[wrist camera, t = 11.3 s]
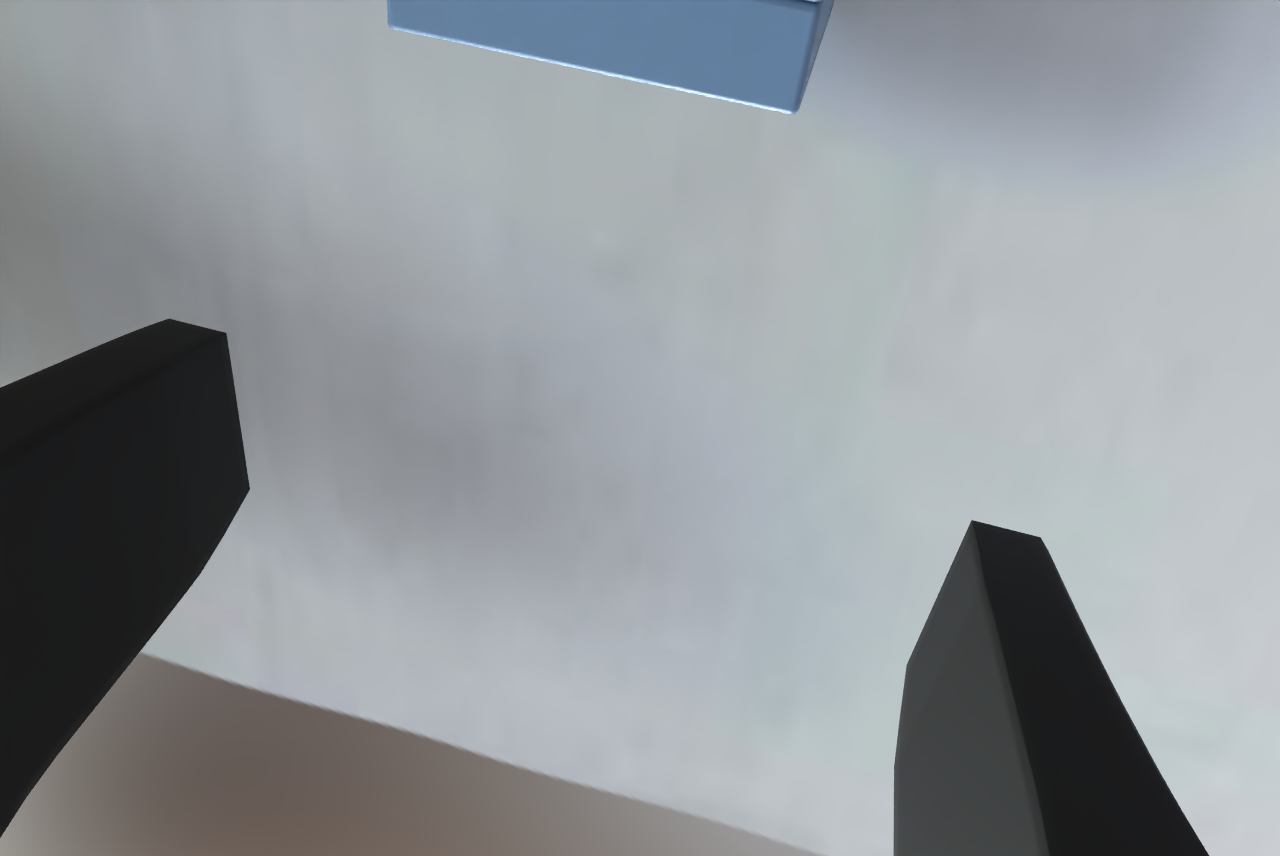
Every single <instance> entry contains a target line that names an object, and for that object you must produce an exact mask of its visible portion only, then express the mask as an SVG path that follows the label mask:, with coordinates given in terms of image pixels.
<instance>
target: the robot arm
mask: <svg viewBox="0 0 1280 856" xmlns="http://www.w3.org/2000/svg"><path fill="white" fill-rule="evenodd" d="M249 490H250V487H249V481H248V474H247V467H246V461H245V454H244V447H243V441H242V434H241V427H240V421H239V414H238V407H237V401H236V394H235V387H234V381H233V374H232V367H231V361H230V354H229V348H228V341H227V334H226V333H224V332H220V331H216V330H212V329H208V328H204V327H200V326H196V325H192V324H188V323H184V322H180V321H176V320H172V319H167V320H164V321H161V322H158V323H155V324H152V325H150V326H147V327H144V328H141V329H139V330H136V331H134V332H131V333H129V334H126V335H124V336H121V337H119V338H116V339H114V340H111V341H109V342H107V343H104V344H102V345H99V346H97V347H95V348H92V349H90V350H88V351H85V352H83V353H81V354H78V355H76V356H74V357H71V358H69V359H67V360H64V361H62V362H60V363H57V364H55V365H53V366H50V367H48V368H46V369H43V370H41V371H39V372H36V373H34V374H32V375H29V376H27V377H25V378H22V379H20V380H18V381H15V382H13V383H11V384H8V385H6V386H4V387H1V388H0V837H1V836H2V834H3V833H4V831H5V830H6V828H7V827H8V825H9V823H10V822H11V820H12V819H13V817H14V816H15V814H16V812H17V811H18V809H19V808H20V806H21V805H22V803H23V802H24V800H25V799H26V797H27V796H28V794H29V793H30V792H31V790H32V789H33V788H34V786H35V785H36V783H37V782H38V781H39V779H40V778H41V776H42V775H43V774H44V772H45V771H46V770H47V768H48V767H49V766H50V764H51V763H52V762H53V760H54V759H55V758H56V756H57V755H58V753H59V752H60V751H61V750H62V749H63V747H64V746H65V745H66V744H67V742H68V741H69V740H70V738H71V737H72V736H73V735H74V733H75V732H76V731H77V730H78V728H79V727H80V726H81V725H82V723H83V722H84V721H85V720H86V718H87V717H88V716H89V715H90V713H91V712H92V711H93V710H94V708H95V707H96V706H97V705H98V703H99V702H100V701H101V700H102V698H103V697H104V696H105V694H106V693H107V692H108V691H109V689H110V688H111V687H112V686H113V684H114V683H115V682H116V681H117V679H118V678H119V677H120V676H121V674H122V673H123V672H124V671H125V669H126V668H127V667H128V665H129V664H130V663H131V662H132V661H133V659H134V658H135V657H136V656H137V654H138V653H139V652H140V651H141V649H142V648H143V647H144V646H145V644H146V643H147V642H148V641H149V639H150V638H151V637H152V635H153V634H154V633H155V632H156V630H157V629H158V628H159V627H160V625H161V624H162V623H163V621H164V620H165V619H166V618H167V616H168V615H169V614H170V612H171V611H172V610H173V609H174V607H175V606H176V605H177V603H178V602H179V601H180V600H181V598H182V597H183V596H184V594H185V593H186V592H187V591H188V589H189V588H190V587H191V585H192V584H193V583H194V581H195V580H196V579H197V577H198V576H199V575H200V573H201V572H202V570H203V569H204V567H205V565H206V564H207V562H208V560H209V559H210V557H211V556H212V554H213V552H214V551H215V549H216V547H217V546H218V544H219V542H220V541H221V539H222V538H223V536H224V534H225V532H226V531H227V529H228V527H229V525H230V524H231V522H232V520H233V518H234V516H235V515H236V513H237V511H238V509H239V508H240V506H241V504H242V502H243V500H244V499H245V497H246V495H247V493H248V492H249ZM894 856H1209V855H1208V853H1207V851H1206V850H1205V848H1204V846H1203V845H1202V843H1201V841H1200V840H1199V838H1198V837H1197V835H1196V833H1195V832H1194V830H1193V828H1192V827H1191V825H1190V823H1189V822H1188V820H1187V818H1186V817H1185V815H1184V813H1183V812H1182V810H1181V808H1180V807H1179V805H1178V803H1177V801H1176V800H1175V798H1174V796H1173V794H1172V793H1171V791H1170V789H1169V787H1168V786H1167V784H1166V782H1165V780H1164V779H1163V777H1162V775H1161V773H1160V772H1159V770H1158V768H1157V766H1156V764H1155V762H1154V761H1153V759H1152V757H1151V755H1150V753H1149V751H1148V749H1147V748H1146V746H1145V744H1144V742H1143V740H1142V738H1141V736H1140V735H1139V733H1138V731H1137V729H1136V727H1135V725H1134V724H1133V722H1132V720H1131V718H1130V716H1129V714H1128V712H1127V711H1126V709H1125V707H1124V705H1123V703H1122V701H1121V699H1120V697H1119V695H1118V694H1117V692H1116V690H1115V688H1114V686H1113V684H1112V682H1111V680H1110V678H1109V676H1108V674H1107V672H1106V670H1105V668H1104V666H1103V664H1102V662H1101V660H1100V658H1099V656H1098V654H1097V652H1096V650H1095V648H1094V646H1093V644H1092V642H1091V640H1090V638H1089V636H1088V634H1087V632H1086V630H1085V627H1084V625H1083V623H1082V621H1081V619H1080V617H1079V615H1078V613H1077V611H1076V609H1075V607H1074V604H1073V602H1072V600H1071V598H1070V596H1069V594H1068V592H1067V590H1066V587H1065V585H1064V583H1063V581H1062V579H1061V577H1060V575H1059V573H1058V570H1057V568H1056V566H1055V564H1054V562H1053V560H1052V558H1051V556H1050V553H1049V551H1048V549H1047V548H1046V546H1045V544H1044V543H1043V541H1042V539H1041V537H1037V536H1033V535H1029V534H1025V533H1021V532H1017V531H1013V530H1009V529H1005V528H1001V527H997V526H993V525H989V524H985V523H981V522H977V521H973V520H972V521H971V523H970V525H969V527H968V529H967V532H966V534H965V536H964V538H963V541H962V543H961V545H960V547H959V550H958V552H957V554H956V556H955V559H954V561H953V563H952V565H951V567H950V570H949V572H948V574H947V576H946V579H945V581H944V583H943V585H942V588H941V590H940V592H939V594H938V597H937V599H936V601H935V603H934V605H933V608H932V610H931V612H930V614H929V617H928V619H927V621H926V623H925V626H924V628H923V630H922V632H921V635H920V637H919V639H918V641H917V643H916V646H915V648H914V650H913V652H912V655H911V657H910V659H909V661H908V664H907V668H906V675H905V683H904V690H903V698H902V706H901V713H900V721H899V730H898V739H897V747H896V756H895V765H894Z"/></svg>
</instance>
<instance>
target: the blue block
mask: <svg viewBox="0 0 1280 856" xmlns="http://www.w3.org/2000/svg"><path fill="white" fill-rule="evenodd" d="M833 2H834V0H387V5H388V24H389V27H391V28H392V29H395V30H400V31H404V32H409V33H414V34H418V35H423V36H428V37H432V38H437V39H442V40H446V41H451V42H456V43H460V44H465V45H470V46H474V47H479V48H484V49H488V50H493V51H498V52H502V53H507V54H512V55H516V56H521V57H526V58H530V59H535V60H540V61H544V62H549V63H554V64H558V65H563V66H568V67H572V68H577V69H582V70H586V71H591V72H596V73H600V74H605V75H610V76H614V77H619V78H624V79H628V80H633V81H638V82H642V83H647V84H652V85H656V86H661V87H666V88H670V89H675V90H680V91H684V92H689V93H694V94H698V95H703V96H708V97H712V98H717V99H721V100H726V101H731V102H735V103H740V104H745V105H749V106H754V107H759V108H763V109H768V110H773V111H777V112H782V113H787V114H795V113H796V112H797V111H798V109H799V107H800V104H801V101H802V98H803V95H804V92H805V89H806V86H807V83H808V80H809V77H810V74H811V71H812V68H813V65H814V62H815V59H816V55H817V52H818V49H819V46H820V43H821V40H822V37H823V34H824V31H825V28H826V25H827V22H828V19H829V16H830V13H831V10H832V7H833Z"/></svg>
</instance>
